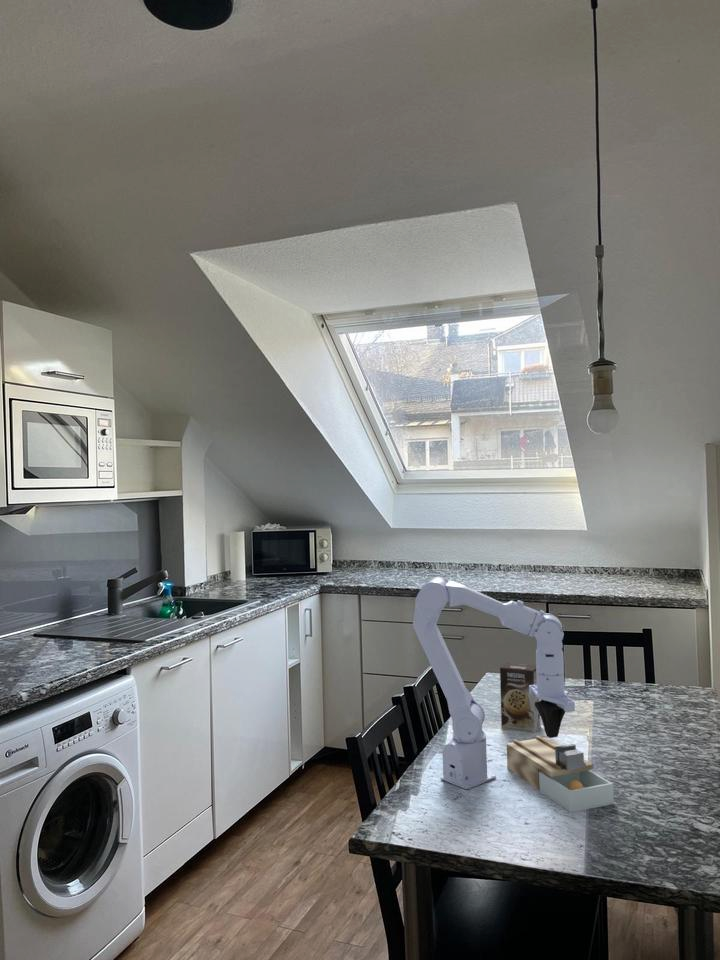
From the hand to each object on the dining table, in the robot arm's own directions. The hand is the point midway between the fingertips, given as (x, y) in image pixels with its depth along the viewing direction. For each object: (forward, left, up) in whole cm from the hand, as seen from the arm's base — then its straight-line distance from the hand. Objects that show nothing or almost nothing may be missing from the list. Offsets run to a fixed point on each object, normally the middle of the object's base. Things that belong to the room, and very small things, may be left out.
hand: (552, 736), depth 159 cm
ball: (-3, -8, -8) cm, 11 cm away
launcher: (+1, +3, -10) cm, 10 cm away
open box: (-3, -8, -10) cm, 13 cm away
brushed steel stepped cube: (-2, -6, -4) cm, 8 cm away
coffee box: (+23, +28, -10) cm, 38 cm away
